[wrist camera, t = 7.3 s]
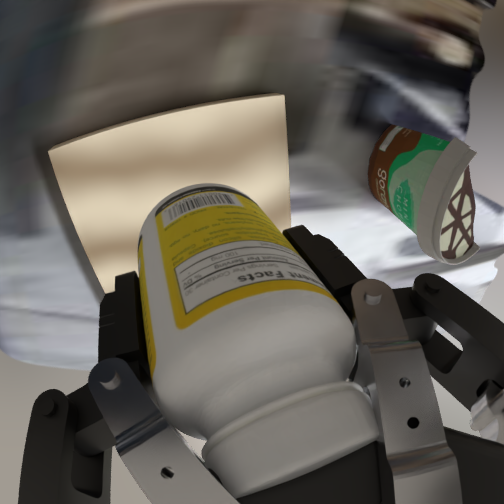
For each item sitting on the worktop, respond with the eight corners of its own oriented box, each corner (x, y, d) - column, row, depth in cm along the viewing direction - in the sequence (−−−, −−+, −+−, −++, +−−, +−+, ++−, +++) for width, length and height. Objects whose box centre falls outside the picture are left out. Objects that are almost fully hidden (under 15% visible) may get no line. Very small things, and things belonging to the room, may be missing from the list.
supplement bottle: (213, 307, 15) (291, 502, 7) (113, 260, 12) (133, 522, 4) (289, 223, 14) (439, 410, 6) (192, 151, 10) (351, 414, 3)
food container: (338, 147, 24) (424, 196, 16) (386, 111, 24) (476, 146, 16) (378, 236, 32) (439, 293, 24) (416, 203, 31) (480, 251, 23)
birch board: (53, 145, 17) (48, 151, 16) (275, 92, 20) (284, 94, 19) (129, 327, 27) (130, 338, 26) (285, 282, 31) (292, 291, 30)
